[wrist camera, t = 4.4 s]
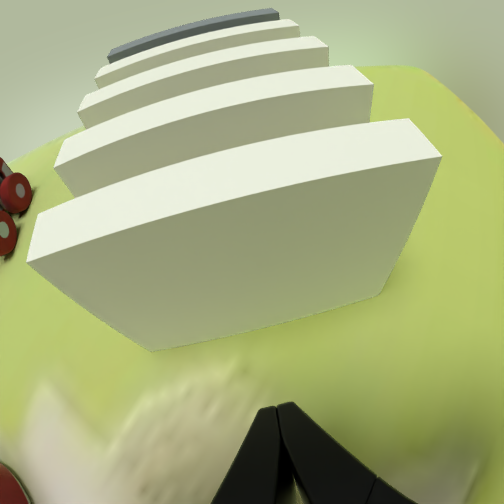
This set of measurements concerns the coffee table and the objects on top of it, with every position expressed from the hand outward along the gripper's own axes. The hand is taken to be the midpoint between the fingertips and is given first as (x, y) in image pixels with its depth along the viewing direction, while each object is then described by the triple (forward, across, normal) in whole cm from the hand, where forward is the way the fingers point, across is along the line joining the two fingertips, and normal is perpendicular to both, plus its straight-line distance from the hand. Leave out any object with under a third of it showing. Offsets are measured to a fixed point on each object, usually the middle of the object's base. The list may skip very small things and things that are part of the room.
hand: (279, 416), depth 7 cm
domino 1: (+10, 0, +1) cm, 10 cm away
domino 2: (+13, 0, -2) cm, 13 cm away
